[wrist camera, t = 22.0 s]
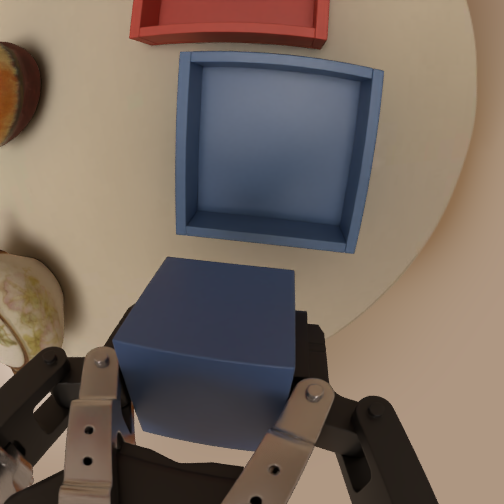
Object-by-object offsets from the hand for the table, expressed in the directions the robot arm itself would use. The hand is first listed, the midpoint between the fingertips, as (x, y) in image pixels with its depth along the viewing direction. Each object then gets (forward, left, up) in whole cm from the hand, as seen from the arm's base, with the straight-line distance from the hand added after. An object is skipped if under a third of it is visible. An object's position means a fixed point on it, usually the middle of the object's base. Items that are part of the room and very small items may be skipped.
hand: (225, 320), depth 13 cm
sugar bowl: (+27, +13, -15) cm, 34 cm away
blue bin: (-1, -5, -15) cm, 16 cm away
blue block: (0, 0, 0) cm, 0 cm away
